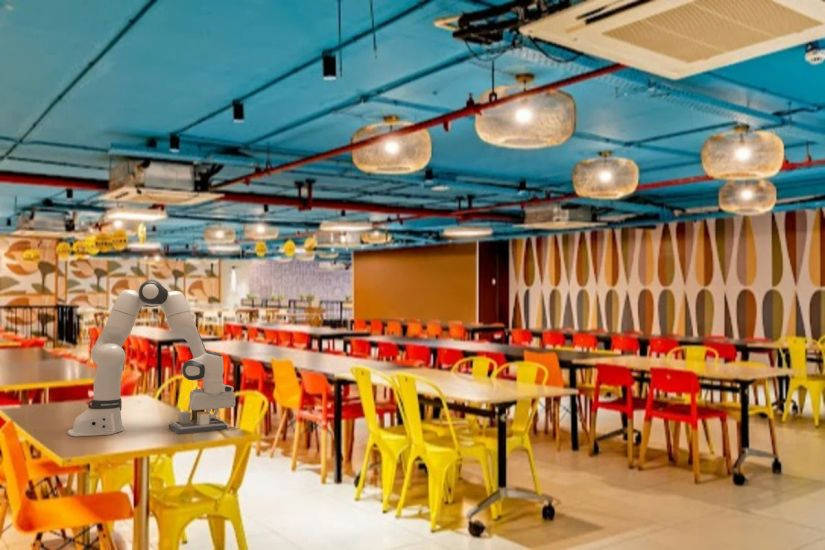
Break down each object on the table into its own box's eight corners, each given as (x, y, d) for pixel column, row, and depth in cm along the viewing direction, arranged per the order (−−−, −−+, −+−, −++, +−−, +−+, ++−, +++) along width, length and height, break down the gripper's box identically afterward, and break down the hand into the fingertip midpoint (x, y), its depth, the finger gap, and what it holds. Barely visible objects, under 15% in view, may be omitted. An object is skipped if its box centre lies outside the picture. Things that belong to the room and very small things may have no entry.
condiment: (207, 421, 350) (207, 396, 350) (189, 423, 346) (189, 397, 346) (202, 419, 356) (202, 394, 356) (184, 421, 352) (185, 395, 352)
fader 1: (181, 424, 330) (181, 413, 330) (178, 422, 334) (178, 411, 334) (190, 423, 332) (190, 412, 332) (187, 422, 336) (187, 411, 336)
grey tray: (178, 434, 320) (178, 426, 320) (168, 428, 332) (168, 420, 333) (227, 429, 332) (227, 421, 332) (216, 424, 345) (216, 416, 345)
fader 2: (200, 426, 327) (200, 414, 327) (197, 424, 331) (197, 412, 331) (209, 425, 329) (209, 413, 329) (205, 423, 333) (206, 411, 333)
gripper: (192, 390, 324) (191, 421, 324) (237, 387, 335) (236, 418, 335) (187, 388, 329) (187, 419, 329) (232, 385, 341) (231, 415, 340)
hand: (212, 418), depth 332 cm, fingers closed
